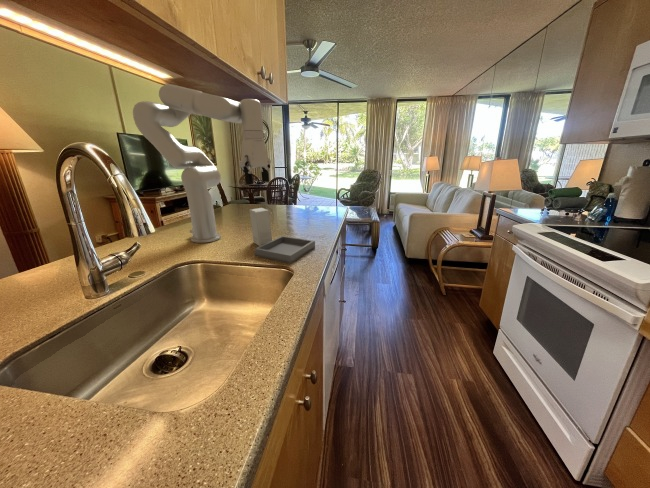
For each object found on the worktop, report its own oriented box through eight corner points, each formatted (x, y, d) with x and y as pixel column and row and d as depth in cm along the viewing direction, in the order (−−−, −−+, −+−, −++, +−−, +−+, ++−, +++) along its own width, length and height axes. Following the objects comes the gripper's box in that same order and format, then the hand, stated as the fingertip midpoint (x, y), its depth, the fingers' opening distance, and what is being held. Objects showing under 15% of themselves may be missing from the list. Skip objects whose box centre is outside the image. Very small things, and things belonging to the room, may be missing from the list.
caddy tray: (255, 256, 99) (254, 248, 98) (282, 242, 115) (282, 235, 114) (290, 263, 93) (290, 255, 92) (315, 247, 108) (315, 240, 107)
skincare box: (272, 244, 111) (270, 210, 107) (259, 247, 108) (255, 212, 103) (265, 239, 118) (262, 206, 113) (252, 242, 115) (248, 208, 110)
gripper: (260, 137, 108) (264, 180, 114) (229, 135, 93) (235, 185, 99) (275, 137, 105) (278, 181, 110) (245, 135, 90) (250, 185, 96)
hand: (258, 182), depth 105 cm, fingers open, 9 cm apart
